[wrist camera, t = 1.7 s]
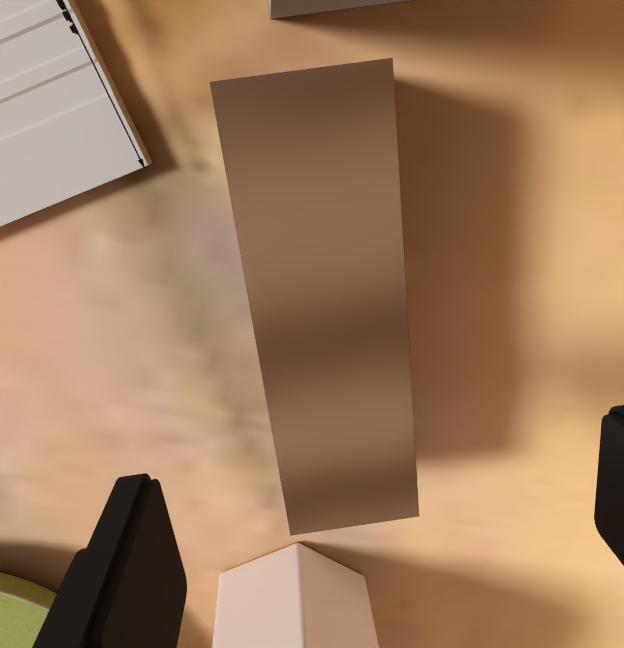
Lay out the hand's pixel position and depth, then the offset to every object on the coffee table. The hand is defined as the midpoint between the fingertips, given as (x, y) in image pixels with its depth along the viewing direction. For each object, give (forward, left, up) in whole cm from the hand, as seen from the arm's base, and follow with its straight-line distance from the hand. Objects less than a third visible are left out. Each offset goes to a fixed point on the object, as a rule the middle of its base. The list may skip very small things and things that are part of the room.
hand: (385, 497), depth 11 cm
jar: (+18, -4, -13) cm, 22 cm away
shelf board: (-1, 0, -13) cm, 13 cm away
